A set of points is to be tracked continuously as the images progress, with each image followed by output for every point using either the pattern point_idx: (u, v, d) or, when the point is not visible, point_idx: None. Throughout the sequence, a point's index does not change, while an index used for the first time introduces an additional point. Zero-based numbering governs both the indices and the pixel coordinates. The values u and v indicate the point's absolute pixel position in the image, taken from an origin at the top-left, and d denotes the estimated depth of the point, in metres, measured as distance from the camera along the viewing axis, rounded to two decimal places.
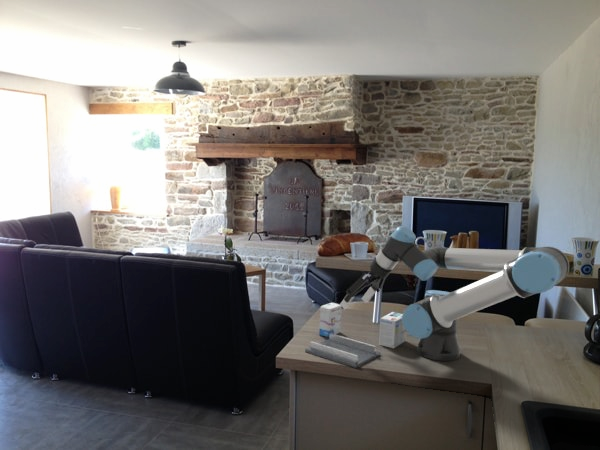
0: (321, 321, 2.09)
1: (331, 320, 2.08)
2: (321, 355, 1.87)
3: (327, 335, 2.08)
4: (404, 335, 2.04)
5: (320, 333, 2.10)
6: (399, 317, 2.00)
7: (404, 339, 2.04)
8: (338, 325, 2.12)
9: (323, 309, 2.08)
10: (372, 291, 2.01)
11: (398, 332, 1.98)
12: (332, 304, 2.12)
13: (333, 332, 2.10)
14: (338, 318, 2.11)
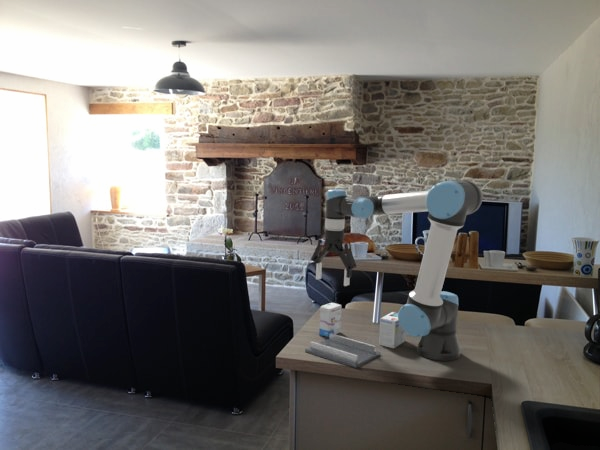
0: (321, 321, 2.09)
1: (331, 320, 2.08)
2: (321, 355, 1.87)
3: (327, 335, 2.08)
4: (404, 335, 2.04)
5: (320, 333, 2.10)
6: None
7: (404, 339, 2.04)
8: (338, 325, 2.12)
9: (323, 309, 2.08)
10: None
11: (398, 332, 1.98)
12: (332, 304, 2.12)
13: (333, 332, 2.10)
14: (338, 318, 2.11)
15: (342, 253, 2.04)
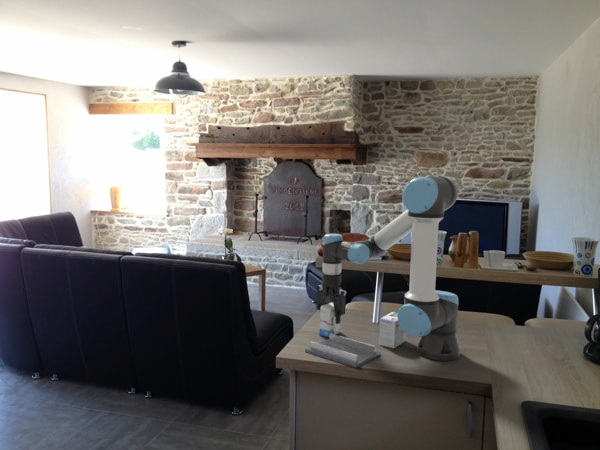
0: (321, 321, 2.09)
1: (332, 320, 2.08)
2: (321, 355, 1.87)
3: (327, 335, 2.08)
4: (404, 335, 2.04)
5: (320, 333, 2.10)
6: None
7: (404, 339, 2.04)
8: None
9: (323, 309, 2.08)
10: None
11: (398, 332, 1.98)
12: (332, 304, 2.12)
13: (333, 332, 2.10)
14: None
15: (336, 298, 2.08)
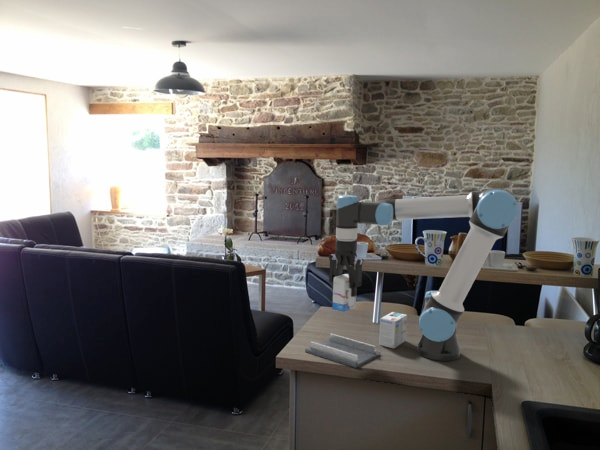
0: (334, 294, 1.86)
1: (346, 293, 1.85)
2: (321, 355, 1.87)
3: (341, 309, 1.85)
4: (404, 335, 2.04)
5: (333, 307, 1.87)
6: (399, 317, 2.00)
7: (404, 339, 2.04)
8: None
9: (336, 280, 1.85)
10: None
11: (398, 332, 1.98)
12: (346, 275, 1.89)
13: (348, 306, 1.87)
14: None
15: (352, 268, 1.85)
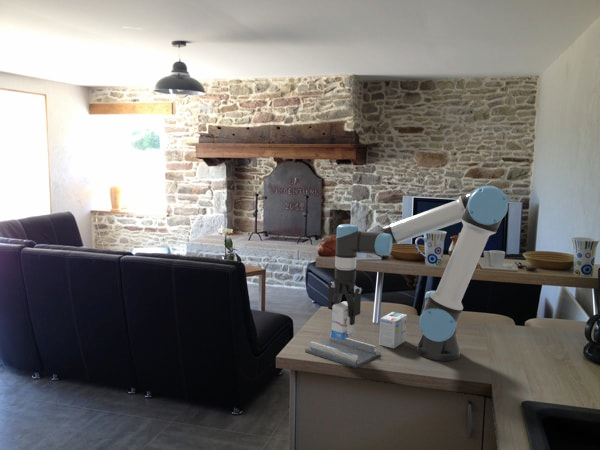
0: (333, 322, 1.87)
1: (345, 321, 1.86)
2: (321, 355, 1.87)
3: (340, 337, 1.86)
4: (404, 335, 2.04)
5: (332, 335, 1.88)
6: (399, 317, 2.00)
7: (404, 339, 2.04)
8: None
9: (335, 308, 1.86)
10: None
11: (398, 332, 1.98)
12: (345, 303, 1.90)
13: (347, 334, 1.88)
14: None
15: (350, 297, 1.87)
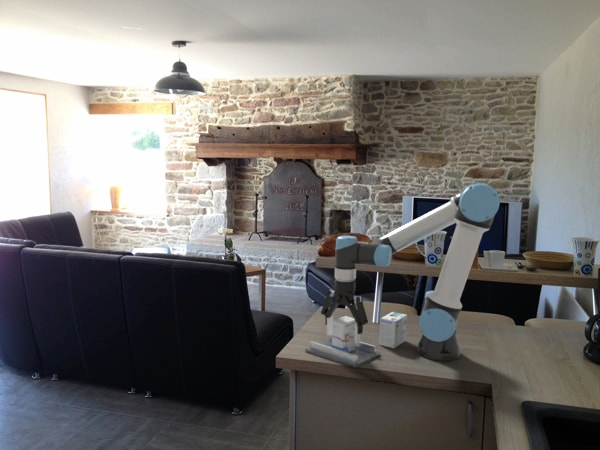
0: (333, 337, 1.88)
1: (345, 337, 1.87)
2: (321, 355, 1.87)
3: None
4: (404, 335, 2.04)
5: None
6: (399, 317, 2.00)
7: (404, 339, 2.04)
8: (353, 341, 1.91)
9: (336, 324, 1.86)
10: None
11: (398, 332, 1.98)
12: (346, 318, 1.91)
13: (347, 349, 1.89)
14: (353, 334, 1.90)
15: (353, 306, 1.86)
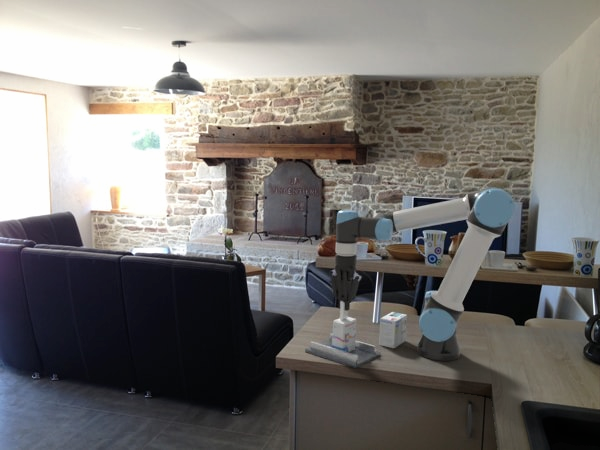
0: (333, 337, 1.88)
1: (345, 337, 1.87)
2: (321, 355, 1.87)
3: None
4: (404, 335, 2.04)
5: None
6: (399, 317, 2.00)
7: (404, 339, 2.04)
8: (353, 341, 1.91)
9: (336, 324, 1.87)
10: None
11: (398, 332, 1.98)
12: (346, 318, 1.91)
13: (347, 349, 1.89)
14: (353, 334, 1.90)
15: (349, 283, 1.86)
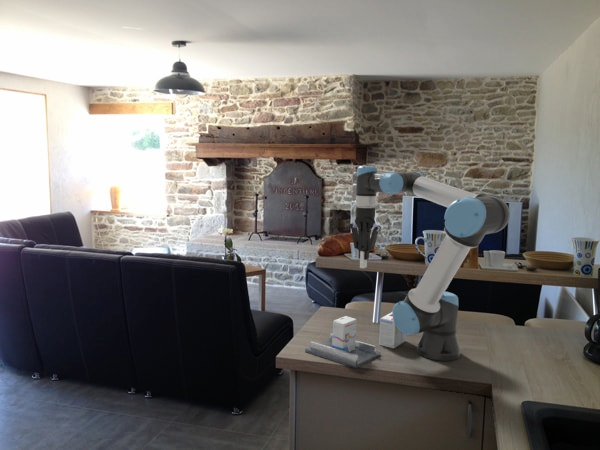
0: (333, 337, 1.88)
1: (345, 337, 1.87)
2: (321, 355, 1.87)
3: None
4: (404, 335, 2.04)
5: None
6: None
7: (404, 339, 2.04)
8: (353, 341, 1.91)
9: (336, 324, 1.86)
10: None
11: (398, 332, 1.98)
12: (346, 318, 1.91)
13: (347, 349, 1.89)
14: (353, 334, 1.90)
15: (368, 234, 2.01)
